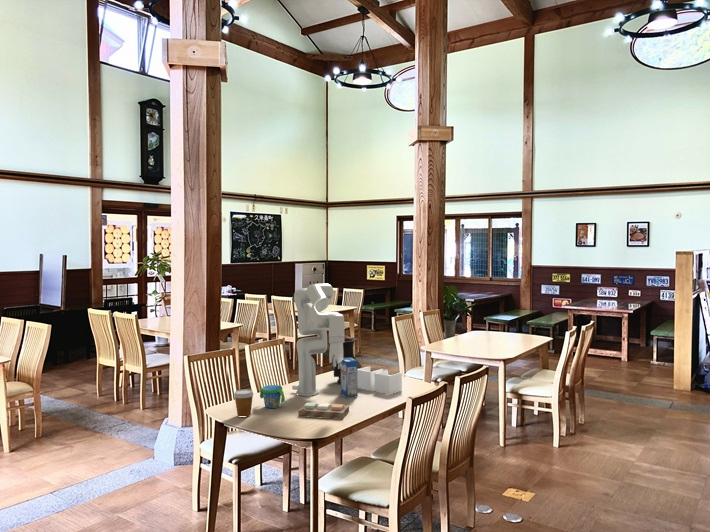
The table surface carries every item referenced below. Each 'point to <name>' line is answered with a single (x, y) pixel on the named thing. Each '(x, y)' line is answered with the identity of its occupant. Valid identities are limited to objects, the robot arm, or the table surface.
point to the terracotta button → (337, 407)
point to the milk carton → (349, 377)
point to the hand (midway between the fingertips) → (337, 376)
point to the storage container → (379, 380)
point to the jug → (348, 352)
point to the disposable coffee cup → (243, 402)
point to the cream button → (323, 406)
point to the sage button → (310, 405)
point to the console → (324, 412)
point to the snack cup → (272, 395)
